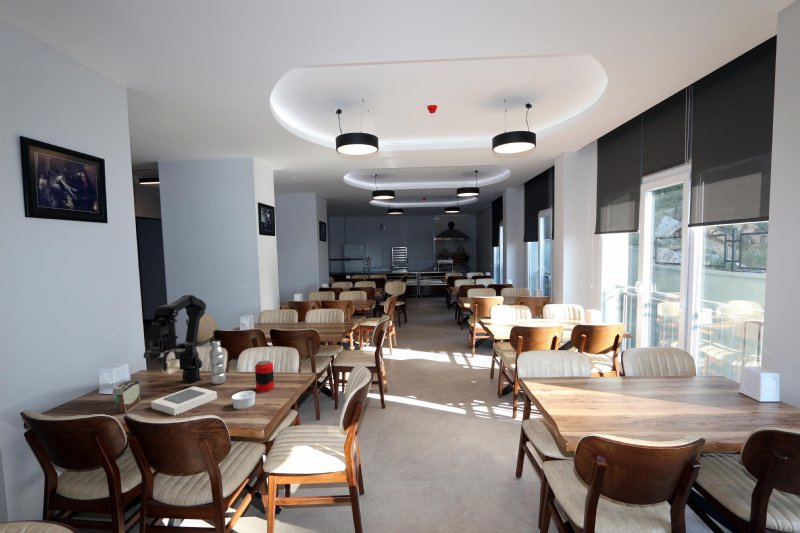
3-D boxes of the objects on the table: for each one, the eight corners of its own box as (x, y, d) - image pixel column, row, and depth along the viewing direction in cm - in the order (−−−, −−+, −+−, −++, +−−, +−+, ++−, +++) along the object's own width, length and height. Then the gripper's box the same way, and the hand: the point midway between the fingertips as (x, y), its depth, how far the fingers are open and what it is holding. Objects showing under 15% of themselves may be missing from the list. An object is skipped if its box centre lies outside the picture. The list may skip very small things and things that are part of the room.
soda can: (262, 385, 176) (260, 359, 175) (277, 386, 174) (276, 360, 173) (252, 392, 168) (251, 365, 168) (268, 392, 167) (266, 365, 166)
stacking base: (194, 392, 171) (193, 385, 170) (217, 398, 163) (216, 390, 163) (151, 408, 155) (151, 400, 155) (174, 415, 147) (174, 407, 147)
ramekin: (255, 408, 151) (254, 397, 151) (230, 411, 149) (230, 400, 149) (256, 399, 160) (256, 389, 160) (233, 402, 157) (233, 392, 157)
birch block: (173, 369, 173) (172, 358, 172) (180, 370, 170) (179, 359, 170) (162, 372, 168) (161, 361, 168) (168, 374, 166) (167, 362, 166)
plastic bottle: (207, 385, 179) (204, 342, 178) (219, 380, 185) (216, 339, 184) (217, 386, 177) (215, 343, 176) (229, 381, 183) (226, 340, 182)
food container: (126, 403, 161) (124, 379, 161) (141, 402, 162) (140, 378, 161) (106, 416, 149) (104, 390, 149) (123, 414, 150) (121, 389, 149)
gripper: (178, 328, 181) (181, 361, 181) (135, 337, 164) (138, 373, 165) (193, 330, 175) (195, 364, 176) (149, 339, 159) (152, 377, 160)
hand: (170, 369), depth 169 cm, fingers closed on birch block, 5 cm apart
